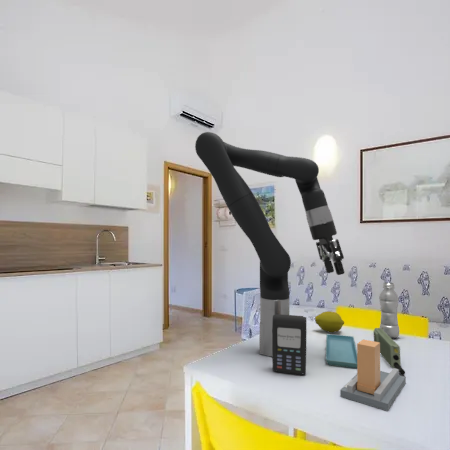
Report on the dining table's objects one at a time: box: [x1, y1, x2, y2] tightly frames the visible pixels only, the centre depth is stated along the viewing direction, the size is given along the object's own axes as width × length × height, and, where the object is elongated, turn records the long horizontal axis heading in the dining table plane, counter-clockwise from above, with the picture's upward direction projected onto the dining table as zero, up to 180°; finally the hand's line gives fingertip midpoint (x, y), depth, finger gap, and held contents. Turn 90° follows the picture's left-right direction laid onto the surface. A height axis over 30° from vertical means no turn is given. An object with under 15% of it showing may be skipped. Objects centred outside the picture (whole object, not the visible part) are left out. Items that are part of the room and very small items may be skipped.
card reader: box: [271, 314, 307, 376], centre depth 90 cm, size 9×4×15 cm, turn 75°
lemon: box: [314, 310, 345, 334], centre depth 130 cm, size 11×8×8 cm
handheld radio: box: [373, 327, 406, 376], centre depth 100 cm, size 7×3×25 cm
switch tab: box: [356, 339, 381, 395], centre depth 76 cm, size 5×4×10 cm
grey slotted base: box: [339, 368, 407, 412], centre depth 80 cm, size 18×10×3 cm, turn 141°
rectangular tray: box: [325, 333, 357, 369], centre depth 106 cm, size 26×9×2 cm, turn 162°
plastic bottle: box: [378, 282, 400, 339], centre depth 124 cm, size 6×7×20 cm
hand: (335, 273), depth 102 cm, fingers open, 8 cm apart
